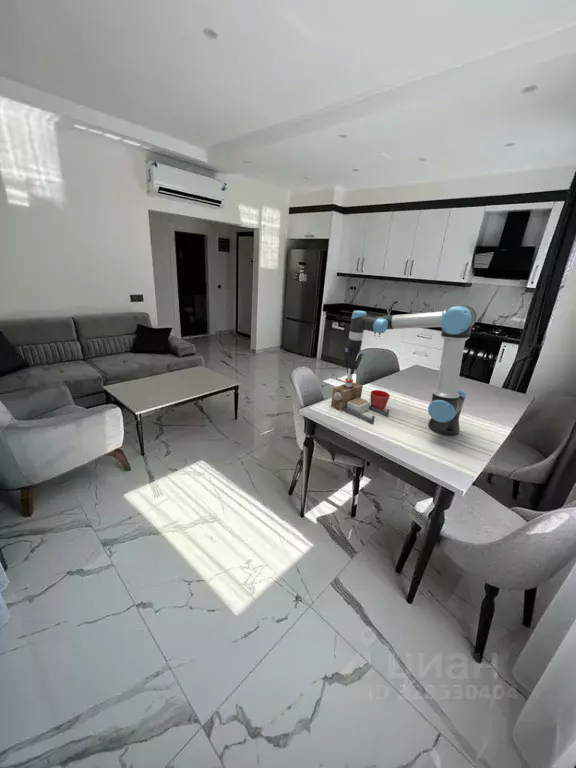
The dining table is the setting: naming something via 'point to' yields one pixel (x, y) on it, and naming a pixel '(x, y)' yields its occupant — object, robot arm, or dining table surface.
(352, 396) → the end cabinet
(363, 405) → the block
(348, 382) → the cylinder
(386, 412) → the rail channel
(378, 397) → the flower pot
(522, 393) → the dining table surface
